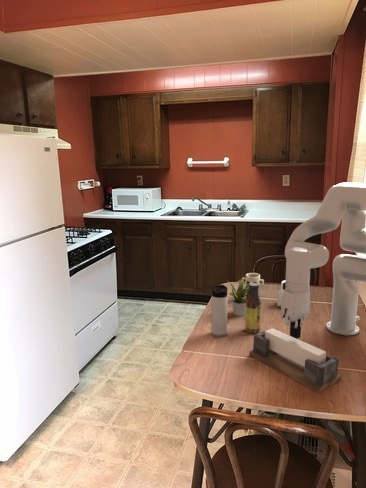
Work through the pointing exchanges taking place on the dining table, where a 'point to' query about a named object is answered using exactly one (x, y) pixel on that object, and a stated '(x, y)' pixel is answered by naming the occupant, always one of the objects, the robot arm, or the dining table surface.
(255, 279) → the character mug
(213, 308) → the travel mug
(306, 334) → the dining table surface
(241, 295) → the house plant
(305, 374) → the end cap frame
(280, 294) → the medicine bottle
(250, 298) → the sauce bottle
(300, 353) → the slat
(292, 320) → the robot arm
